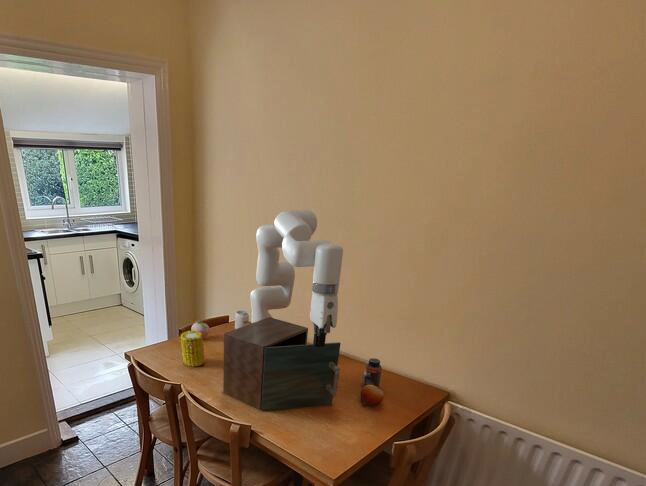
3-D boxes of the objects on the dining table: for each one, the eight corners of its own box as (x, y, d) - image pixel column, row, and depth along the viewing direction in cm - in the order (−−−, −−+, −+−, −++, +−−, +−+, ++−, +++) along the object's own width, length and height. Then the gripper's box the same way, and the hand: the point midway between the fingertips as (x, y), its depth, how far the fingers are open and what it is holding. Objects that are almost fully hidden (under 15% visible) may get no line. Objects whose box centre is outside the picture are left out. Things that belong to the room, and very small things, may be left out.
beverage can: (244, 337, 208) (244, 315, 203) (232, 335, 211) (232, 313, 206) (250, 333, 213) (251, 311, 208) (238, 331, 217) (239, 309, 212)
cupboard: (302, 385, 160) (308, 327, 150) (260, 410, 144) (263, 346, 134) (266, 371, 172) (269, 317, 162) (223, 392, 156) (223, 333, 145)
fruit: (350, 394, 150) (364, 377, 148) (366, 403, 153) (380, 387, 150) (360, 406, 143) (374, 388, 140) (376, 415, 145) (391, 397, 143)
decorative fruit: (187, 339, 207) (187, 320, 202) (199, 335, 212) (198, 316, 208) (201, 344, 201) (200, 324, 197) (212, 339, 206) (212, 320, 202)
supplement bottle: (378, 384, 161) (383, 358, 156) (378, 391, 156) (383, 364, 151) (362, 382, 163) (366, 356, 158) (362, 389, 158) (366, 362, 153)
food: (208, 365, 181) (190, 373, 176) (191, 352, 188) (174, 359, 182) (212, 337, 172) (193, 344, 166) (194, 324, 179) (176, 330, 173)
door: (339, 412, 142) (348, 349, 132) (266, 419, 138) (270, 355, 128) (331, 403, 148) (339, 342, 137) (261, 409, 144) (264, 347, 134)
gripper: (349, 293, 114) (340, 354, 122) (326, 282, 128) (320, 337, 135) (323, 295, 113) (316, 356, 121) (303, 283, 127) (298, 338, 134)
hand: (318, 346), depth 128 cm, fingers closed
